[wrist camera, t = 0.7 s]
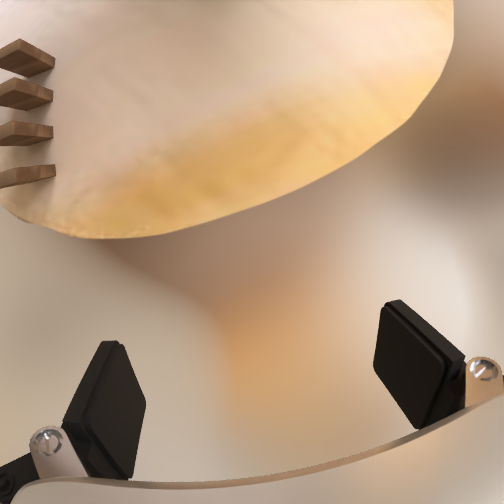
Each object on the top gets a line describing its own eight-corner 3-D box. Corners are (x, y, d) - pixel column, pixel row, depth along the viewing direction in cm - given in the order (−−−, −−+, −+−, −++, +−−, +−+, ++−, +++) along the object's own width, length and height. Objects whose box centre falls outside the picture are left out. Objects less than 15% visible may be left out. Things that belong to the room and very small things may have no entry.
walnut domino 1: (29, 68, 27) (-9, 54, 18) (55, 58, 28) (19, 38, 18) (28, 77, 28) (-10, 64, 18) (54, 67, 28) (17, 49, 18)
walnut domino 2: (27, 101, 29) (-13, 91, 19) (53, 90, 29) (14, 77, 20) (26, 110, 29) (-14, 103, 20) (52, 101, 30) (13, 89, 20)
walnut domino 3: (27, 135, 30) (-15, 133, 21) (52, 126, 31) (12, 121, 21) (27, 146, 31) (-15, 146, 21) (53, 137, 31) (12, 134, 22)
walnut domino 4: (29, 171, 32) (-13, 178, 23) (55, 164, 32) (13, 168, 23) (30, 182, 32) (-12, 191, 23) (56, 175, 33) (15, 182, 23)
